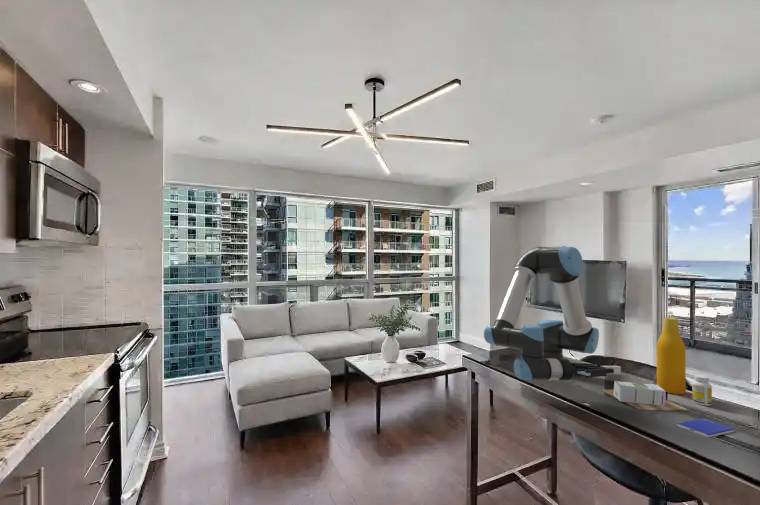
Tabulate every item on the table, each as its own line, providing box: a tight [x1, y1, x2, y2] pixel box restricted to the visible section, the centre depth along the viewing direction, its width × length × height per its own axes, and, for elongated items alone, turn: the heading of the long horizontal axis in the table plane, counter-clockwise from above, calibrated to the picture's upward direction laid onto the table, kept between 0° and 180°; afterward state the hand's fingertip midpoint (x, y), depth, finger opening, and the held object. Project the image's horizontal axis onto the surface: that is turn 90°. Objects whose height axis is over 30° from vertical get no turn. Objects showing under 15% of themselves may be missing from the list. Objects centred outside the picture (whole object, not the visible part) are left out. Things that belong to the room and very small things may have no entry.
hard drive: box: [676, 417, 734, 438], centre depth 113 cm, size 2×8×12 cm
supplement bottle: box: [691, 374, 713, 407], centre depth 135 cm, size 5×5×10 cm
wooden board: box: [601, 389, 688, 412], centre depth 137 cm, size 17×20×1 cm
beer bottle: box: [656, 317, 687, 395], centre depth 149 cm, size 9×9×29 cm
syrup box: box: [613, 380, 667, 406], centre depth 134 cm, size 6×6×14 cm
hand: (619, 370), depth 137 cm, fingers closed
